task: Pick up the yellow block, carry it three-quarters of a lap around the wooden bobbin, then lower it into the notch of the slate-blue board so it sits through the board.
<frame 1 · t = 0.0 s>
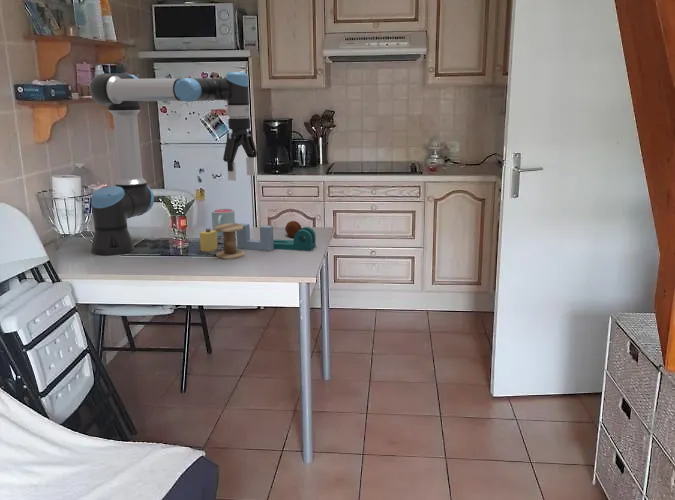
hand: (241, 177, 226), 28 cm above the table, fingers open, 13 cm apart
bobbin: (230, 255, 230), on the table
bracket: (290, 248, 241), on the table
potato: (293, 236, 259), on the table
mug: (223, 235, 261), on the table
notch board: (255, 248, 239), on the table
yellow block: (209, 249, 238), on the table
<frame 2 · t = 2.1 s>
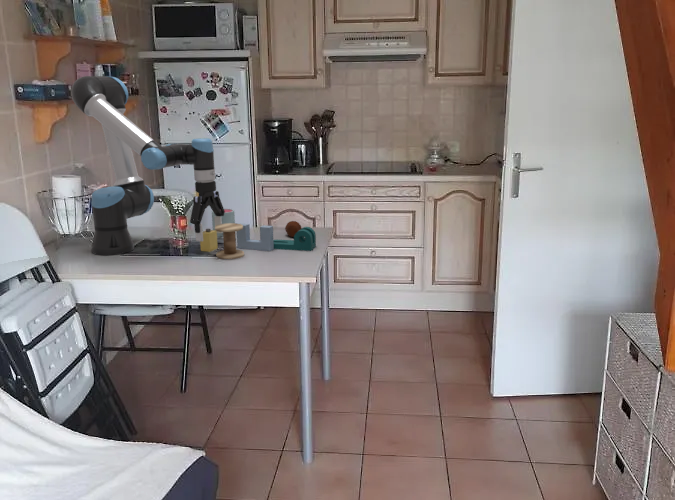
hand: (209, 237, 237), 5 cm above the table, fingers open, 13 cm apart
nothing on the table moved.
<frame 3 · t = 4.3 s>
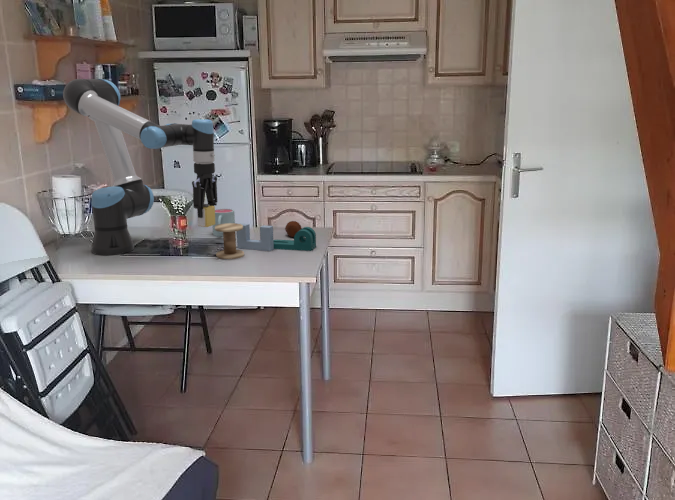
hand: (206, 224, 236), 10 cm above the table, fingers closed on yellow block, 5 cm apart
yellow block: (206, 225, 236), point 9 cm above the table, touching gripper
everything else where it was.
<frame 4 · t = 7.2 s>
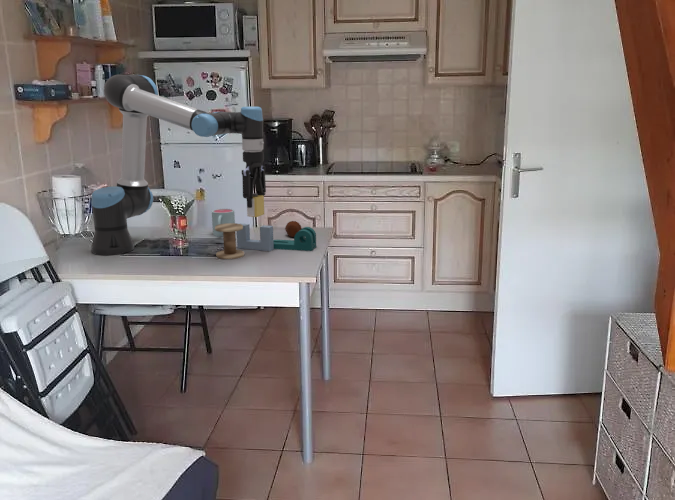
hand: (255, 214, 230), 14 cm above the table, fingers closed on yellow block, 5 cm apart
yellow block: (255, 215, 230), point 14 cm above the table, touching gripper
everything else where it was.
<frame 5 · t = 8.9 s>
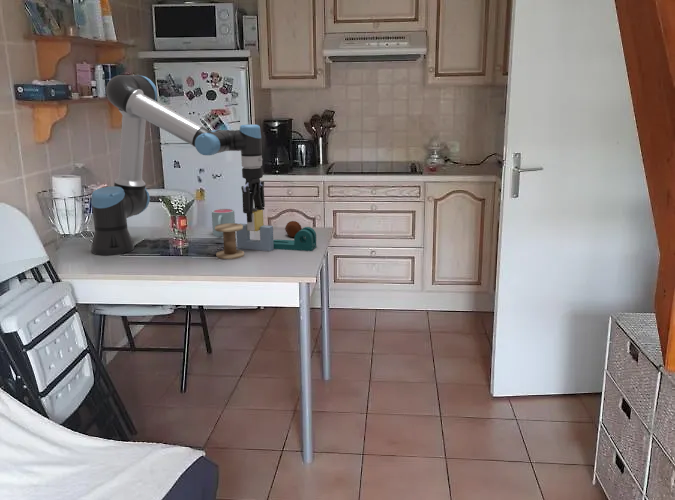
hand: (255, 228, 237), 8 cm above the table, fingers closed on yellow block, 5 cm apart
yellow block: (255, 229, 237), point 8 cm above the table, touching gripper
everything else where it was.
when the fingers open (3 cm above the table, at t = 10.4 s): yellow block stays where it is, resting on notch board.
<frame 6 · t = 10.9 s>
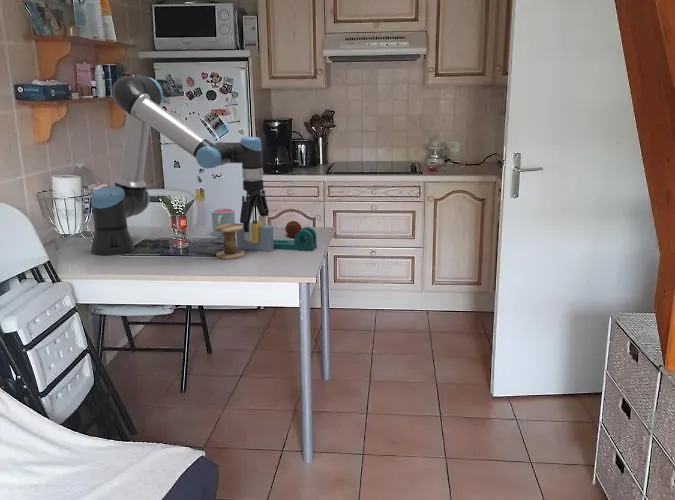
hand: (255, 236, 238), 5 cm above the table, fingers open, 11 cm apart
yellow block: (255, 241, 238), point 3 cm above the table, touching notch board
everything else where it was.
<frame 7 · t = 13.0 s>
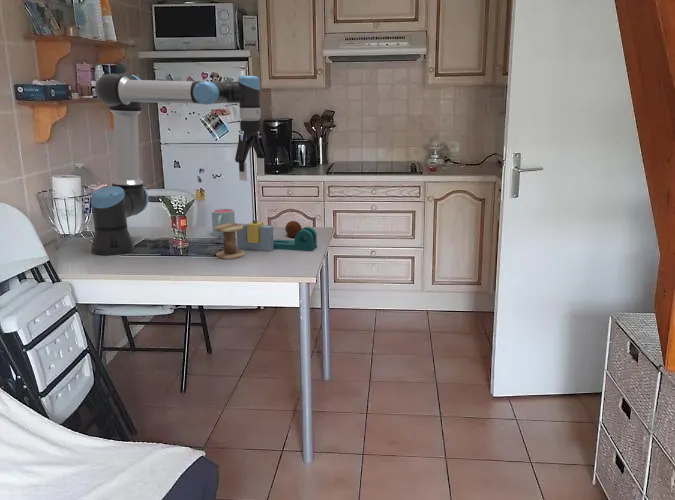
hand: (252, 178, 234), 27 cm above the table, fingers open, 13 cm apart
nothing on the table moved.
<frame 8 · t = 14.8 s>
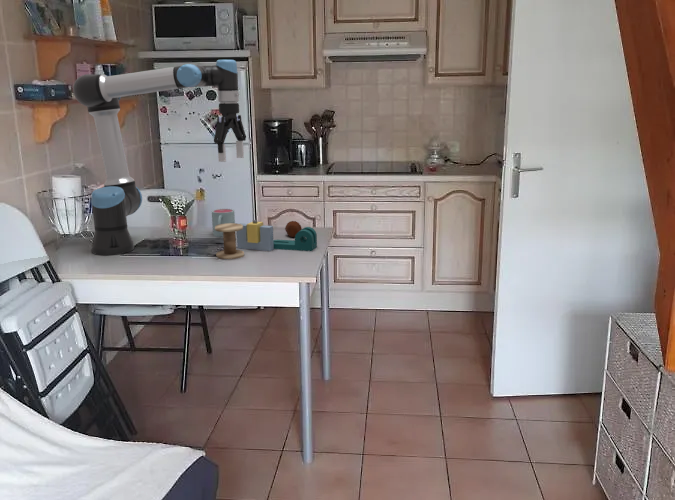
hand: (231, 159, 240), 33 cm above the table, fingers open, 13 cm apart
nothing on the table moved.
at the end: yellow block 0.3 cm off-centre on the notch board, point 3.0 cm above the notch board's base; yellow block tilted 0°; the gripper is holding nothing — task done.
